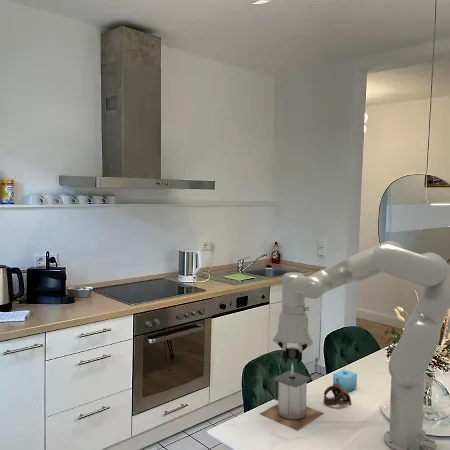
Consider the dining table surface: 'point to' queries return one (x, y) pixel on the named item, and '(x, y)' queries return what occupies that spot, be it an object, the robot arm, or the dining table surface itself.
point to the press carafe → (291, 395)
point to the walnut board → (296, 425)
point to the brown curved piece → (336, 395)
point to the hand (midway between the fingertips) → (292, 361)
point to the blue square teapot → (345, 379)
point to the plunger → (292, 358)
